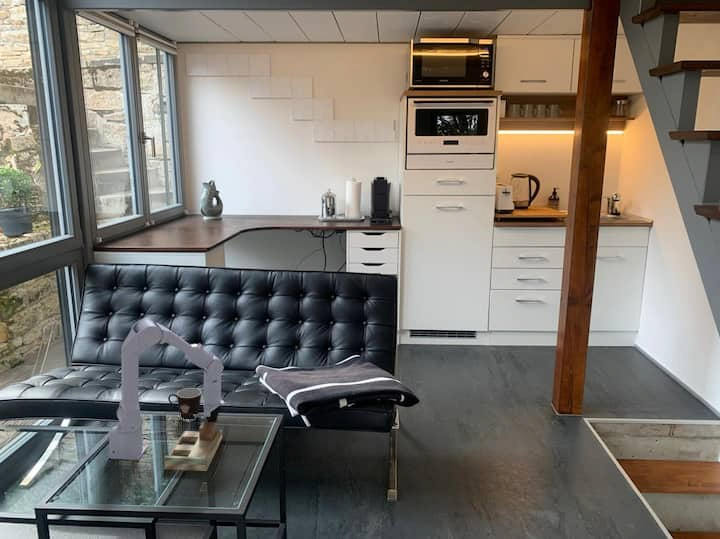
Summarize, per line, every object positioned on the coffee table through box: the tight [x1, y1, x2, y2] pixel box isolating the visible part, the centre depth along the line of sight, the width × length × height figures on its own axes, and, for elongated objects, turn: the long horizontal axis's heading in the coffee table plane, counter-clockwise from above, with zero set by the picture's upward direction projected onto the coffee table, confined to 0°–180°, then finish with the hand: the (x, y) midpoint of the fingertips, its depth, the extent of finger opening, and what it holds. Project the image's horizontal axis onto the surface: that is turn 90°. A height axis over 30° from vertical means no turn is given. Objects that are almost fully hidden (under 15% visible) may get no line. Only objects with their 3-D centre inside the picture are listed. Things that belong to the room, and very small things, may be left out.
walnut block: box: [198, 421, 217, 441], centre depth 183 cm, size 4×4×4 cm
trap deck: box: [163, 429, 223, 472], centre depth 177 cm, size 13×20×4 cm, turn 0°
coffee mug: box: [167, 387, 202, 420], centre depth 199 cm, size 12×9×10 cm
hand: (212, 426), depth 189 cm, fingers closed
